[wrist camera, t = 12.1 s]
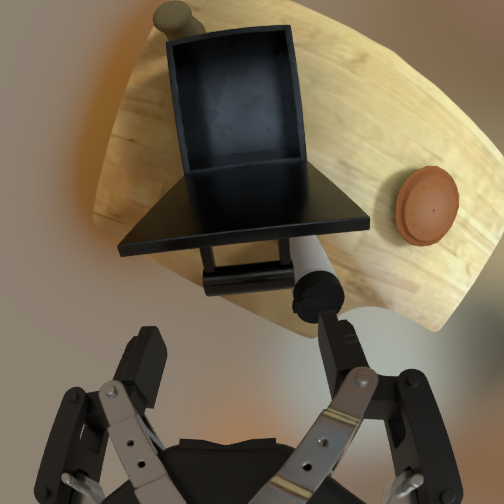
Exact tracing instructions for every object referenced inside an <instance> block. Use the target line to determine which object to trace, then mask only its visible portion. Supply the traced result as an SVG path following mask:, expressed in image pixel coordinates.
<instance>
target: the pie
mask: <svg viewBox="0 0 504 504" xmlns="http://www.w3.org/2000/svg"><path fill="white" fill-rule="evenodd" d="M458 208H459V194H458V189H457V186H456V184H455V182H454V180H453V178H452V177H451V176H450V175H449V174H448V173H447V172H446V171H445V170H443V169H441V168H439V167H438V166H426V167H424V168H421V169H419V170H417V171H416V172H414V173H413V174H411V175H410V176H409V177H408V178H407V179H406V181H405V182H404V183H403V185H402V186H401V189H400V191H399V193H398V195H397V198H396V207H395V223H396V225H397V228H398V231H399V233H400V234H401V235H402V237H403V238H404V239H405V240H406V241H408V242H409V243H410V244H412V245H416V246H429V245H432V244H434V243H437V242H438V241H439V240H440V239H441V238H442V237H443V236H444V235H445V234H446V233H447V232H448V230H449V229H450V228H451V226H452V224H453V222H454V220H455V217H456V215H457V211H458Z"/></svg>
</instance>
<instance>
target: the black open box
mask: <svg viewBox="0 0 504 504" xmlns="http://www.w3.org/2000/svg"><path fill="white" fill-rule="evenodd" d="M166 51H167V60H168V69H169V77H170V85H171V93H172V100H173V107H174V114H175V121H176V128H177V134H178V140H179V147H180V153H181V158H182V164H183V170H184V176H186V175H192V174H199V173H205V172H212V171H219V170H226V169H233V168H241V167H250V166H258V165H268V164H278V163H289V162H302V161H307V155H306V143H305V132H304V122H303V112H302V103H301V94H300V86H299V78H298V71H297V64H296V57H295V50H294V44H293V37H292V31H291V25H271V26H257V27H246V28H237V29H230V30H223V31H216V32H210V33H205V34H199V35H194V36H190V37H185V38H181V39H176V40H172V41H168V42H166Z"/></svg>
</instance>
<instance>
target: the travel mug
mask: <svg viewBox="0 0 504 504" xmlns="http://www.w3.org/2000/svg"><path fill="white" fill-rule="evenodd" d="M289 241H290V257H291V259H292V261H293V265H294V273H295V288H291V290H292V294H293V298H294V300H293V305H292V308H293V312H294V313H297V314H298V316H299V317H300V318H301V319H302V320H303V321H305V322H308V323H313V324H314V323H319V313H320V312H327V311H335V312H336V314H337V313H338V312H339V311H340V309H341V306H342V305H343V302H344V298H345V296H344V291H343V288H342V286H341V284H340V281H339V279H338V277H337V275H336V273H335V271H334V269H333V267H332V265H331V263H330V261H329V259H328V257H327V255H326V253H325V251H324V249H323V247H322V245H321V244H320V242H319V240H318V238H317V236H316V235H312V236H303V237H293V238H289Z"/></svg>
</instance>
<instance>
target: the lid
mask: <svg viewBox="0 0 504 504" xmlns="http://www.w3.org/2000/svg"><path fill="white" fill-rule="evenodd" d="M369 229H370V217H369V216H368V215H367V214H366V213H365V212H364V211H363V210H362V209H361V208H360V207H359V206H358V205H357V204H356V203H355V202H353V201H352V200H351V199H350V198H349V197H348V196H347V195H346V194H345V193H344V192H343V191H342V190H340V189H339V188H338V187H337V186H336V185H335V184H334V183H333V182H331V181H330V180H329V179H328V178H327V177H326V176H325V175H323V174H322V173H321V172H320V171H319V170H318V169H316V168H315V167H314V166H313V165H312V164H310V163H309V162H308V161H302V162H289V163H278V164H268V165H258V166H250V167H241V168H233V169H226V170H219V171H212V172H205V173H199V174H192V175H186V176H183V177H182V178H181V179H180V180H179V181H178V182H177V183H176V184H175V185H174V186H173V187H172V188H171V189H170V190H169V191H168V192H167V193H166V194H165V195H164V196H163V197H162V198H161V199H160V200H159V201H158V202H157V203H156V204H155V205H154V206H153V207H152V208H151V209H150V210H149V211H148V212H147V213H146V215H145V216H144V217H143V218H142V219H141V220H140V221H139V222H138V223H137V224H136V225H135V226H134V227H133V229H132V230H131V231H130V232H129V233H128V234H127V235H126V236H125V237H124V239H123V240H122V241H121V242H120V243H119V244H118V246H117V248H118V251H119V253H120V256H121V257H126V256H133V255H142V254H151V253H159V252H167V251H176V250H185V249H193V248H199V249H200V253H201V257H202V262H203V266H204V270H203V286H204V291H205V294H206V296H220V295H231V294H242V293H252V292H262V291H271V290H281V289H290V288H295V273H294V265H293V261H292V259H291V257H290V241H289V238H293V237H303V236H312V235H322V234H332V233H342V232H352V231H362V230H369ZM274 239H278V248H279V260H274V261H265V262H255V263H246V264H236V265H227V266H217V267H216V265H215V260H214V255H213V250H212V246H220V245H229V244H238V243H247V242H256V241H265V240H274Z"/></svg>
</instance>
